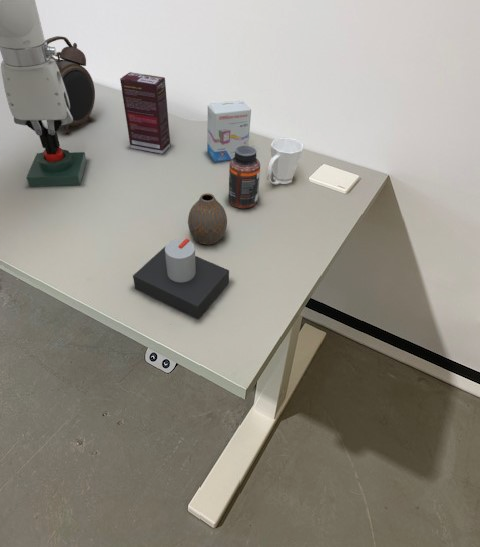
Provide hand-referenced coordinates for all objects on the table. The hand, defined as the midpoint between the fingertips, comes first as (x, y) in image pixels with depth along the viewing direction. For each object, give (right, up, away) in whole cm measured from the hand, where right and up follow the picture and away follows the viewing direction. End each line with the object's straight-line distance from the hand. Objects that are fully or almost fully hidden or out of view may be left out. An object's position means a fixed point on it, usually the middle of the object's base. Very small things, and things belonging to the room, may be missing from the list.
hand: (52, 150), depth 86 cm
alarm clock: (-3, +12, +20) cm, 24 cm away
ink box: (+36, +2, +13) cm, 38 cm away
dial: (+29, -25, -21) cm, 44 cm away
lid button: (0, -1, +1) cm, 2 cm away
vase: (+33, -19, -9) cm, 39 cm away
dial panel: (+29, -27, -19) cm, 44 cm away
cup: (+47, -5, +6) cm, 48 cm away
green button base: (0, -4, +4) cm, 5 cm away
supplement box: (+17, +5, +14) cm, 23 cm away
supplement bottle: (+39, -11, -1) cm, 41 cm away
